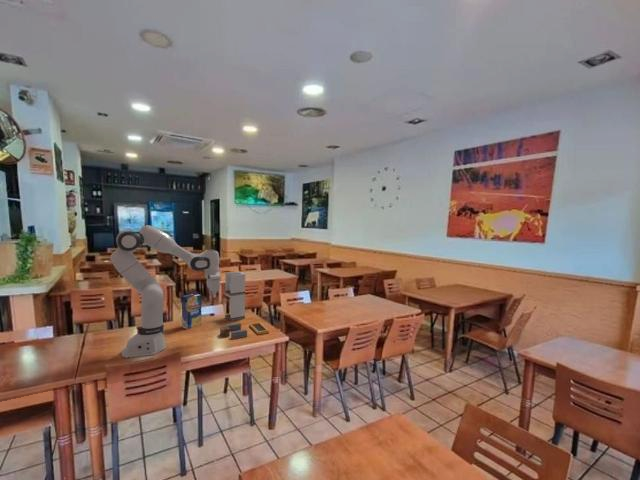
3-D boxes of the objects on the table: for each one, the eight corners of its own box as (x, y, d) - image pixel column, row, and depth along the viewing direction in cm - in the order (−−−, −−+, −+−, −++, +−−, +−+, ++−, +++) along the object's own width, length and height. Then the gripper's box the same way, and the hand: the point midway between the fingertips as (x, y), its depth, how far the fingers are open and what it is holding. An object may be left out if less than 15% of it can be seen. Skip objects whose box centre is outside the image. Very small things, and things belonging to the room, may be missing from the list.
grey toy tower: (238, 314, 250) (239, 271, 247) (244, 318, 241) (245, 273, 239) (225, 317, 242) (225, 273, 240) (230, 321, 234) (231, 275, 232)
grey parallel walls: (231, 338, 201) (232, 332, 201) (225, 330, 215) (225, 325, 214) (247, 336, 206) (247, 330, 206) (240, 328, 220) (240, 322, 220)
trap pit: (257, 335, 209) (257, 332, 209) (249, 326, 224) (249, 323, 224) (269, 333, 213) (269, 330, 213) (259, 324, 228) (259, 322, 228)
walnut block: (222, 337, 203) (222, 330, 203) (220, 334, 207) (220, 327, 207) (229, 336, 206) (229, 328, 205) (227, 333, 210) (227, 326, 210)
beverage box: (201, 324, 225) (201, 294, 223) (187, 329, 216) (187, 297, 214) (195, 322, 229) (195, 293, 227) (181, 327, 219) (181, 296, 218)
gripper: (204, 272, 206) (204, 292, 207) (210, 277, 189) (210, 300, 190) (213, 271, 209) (214, 291, 211) (221, 276, 192) (221, 298, 193)
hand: (212, 295), depth 200 cm, fingers open, 8 cm apart
